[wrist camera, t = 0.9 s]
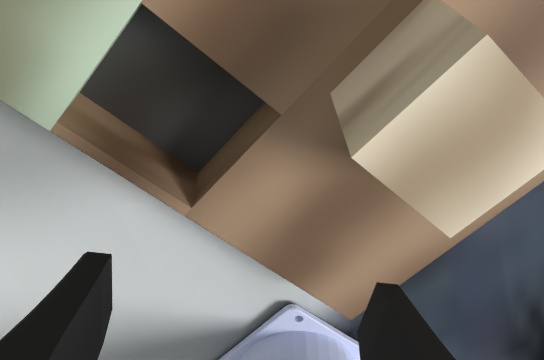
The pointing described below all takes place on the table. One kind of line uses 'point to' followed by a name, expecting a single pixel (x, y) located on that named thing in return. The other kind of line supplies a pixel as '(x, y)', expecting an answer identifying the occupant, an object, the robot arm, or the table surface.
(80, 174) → the table surface
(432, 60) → the birch block
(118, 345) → the table surface
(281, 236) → the trap deck
